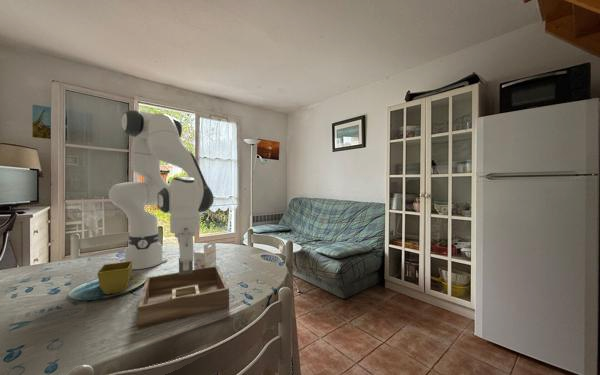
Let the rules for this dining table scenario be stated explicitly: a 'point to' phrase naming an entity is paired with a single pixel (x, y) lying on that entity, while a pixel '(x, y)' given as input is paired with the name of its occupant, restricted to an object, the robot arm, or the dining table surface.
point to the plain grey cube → (182, 272)
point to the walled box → (182, 296)
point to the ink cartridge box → (205, 256)
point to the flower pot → (114, 277)
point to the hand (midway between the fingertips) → (185, 266)
